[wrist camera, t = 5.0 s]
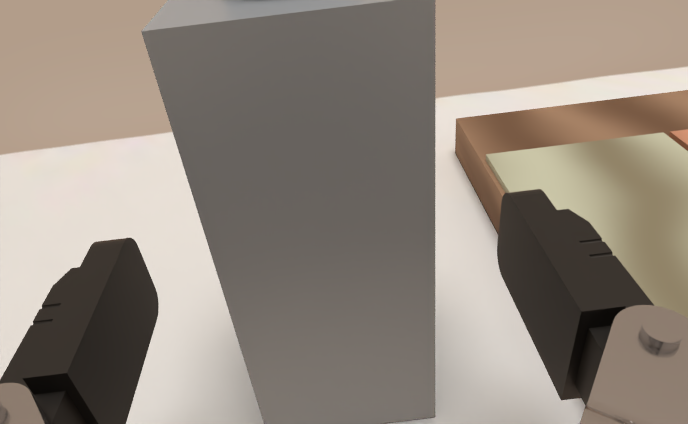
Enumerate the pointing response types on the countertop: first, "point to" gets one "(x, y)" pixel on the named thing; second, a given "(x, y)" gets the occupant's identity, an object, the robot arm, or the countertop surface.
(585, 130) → the walnut board
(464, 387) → the countertop surface
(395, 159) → the slate brick
